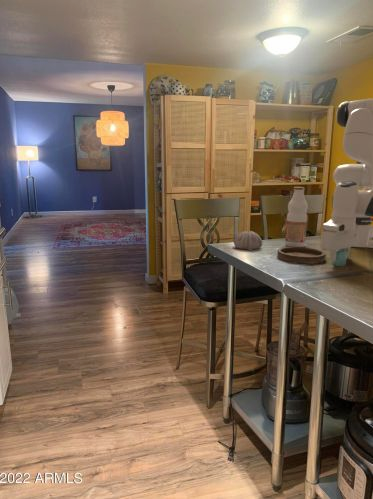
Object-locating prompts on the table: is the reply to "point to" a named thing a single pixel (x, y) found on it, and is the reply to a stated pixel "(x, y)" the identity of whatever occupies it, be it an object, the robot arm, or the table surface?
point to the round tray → (301, 255)
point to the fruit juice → (296, 219)
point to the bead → (340, 258)
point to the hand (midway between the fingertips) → (339, 259)
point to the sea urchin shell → (248, 240)
